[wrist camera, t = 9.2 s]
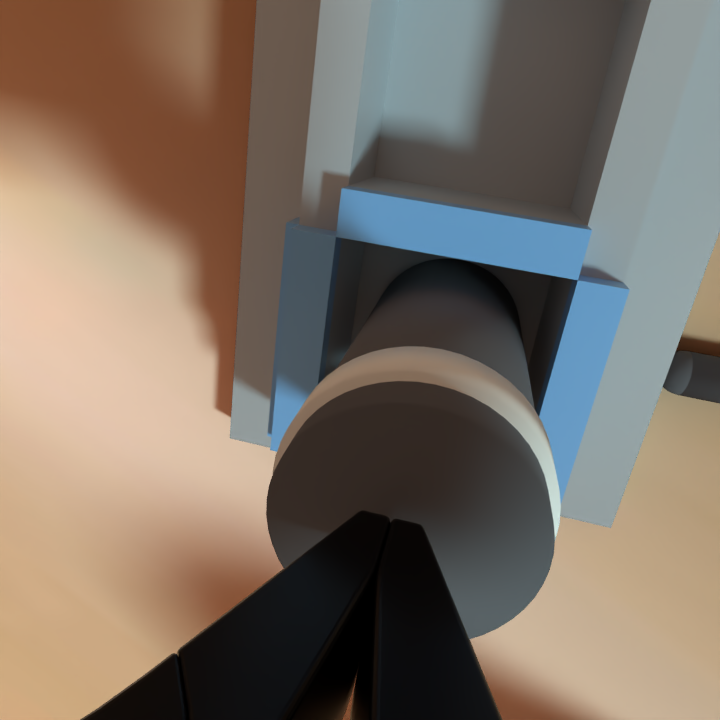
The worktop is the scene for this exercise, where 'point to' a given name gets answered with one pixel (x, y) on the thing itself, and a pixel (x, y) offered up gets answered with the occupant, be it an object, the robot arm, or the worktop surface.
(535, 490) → the dark grey cylinder
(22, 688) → the worktop surface
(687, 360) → the rod
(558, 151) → the narrow cubby shelf
